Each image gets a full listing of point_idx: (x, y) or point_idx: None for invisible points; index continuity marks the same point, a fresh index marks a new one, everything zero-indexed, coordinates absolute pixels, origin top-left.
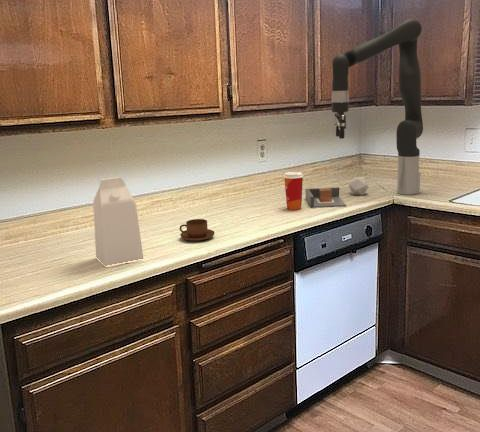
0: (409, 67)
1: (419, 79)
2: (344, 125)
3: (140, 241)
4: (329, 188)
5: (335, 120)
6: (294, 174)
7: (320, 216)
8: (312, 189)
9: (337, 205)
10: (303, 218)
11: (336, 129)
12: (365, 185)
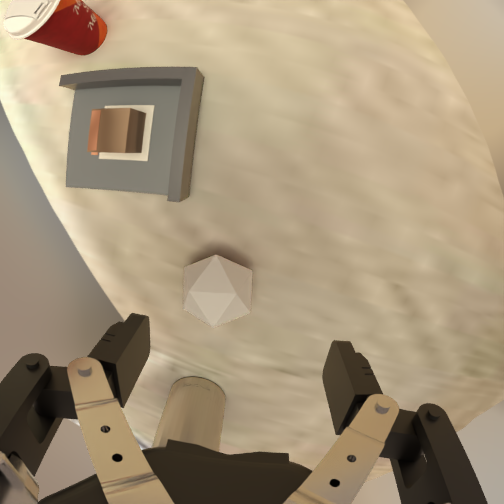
0: None
1: None
2: (35, 419)
3: None
4: (116, 149)
5: (331, 484)
6: (9, 10)
7: (8, 104)
8: (180, 92)
9: (67, 160)
10: (8, 67)
11: (349, 389)
12: (183, 306)
